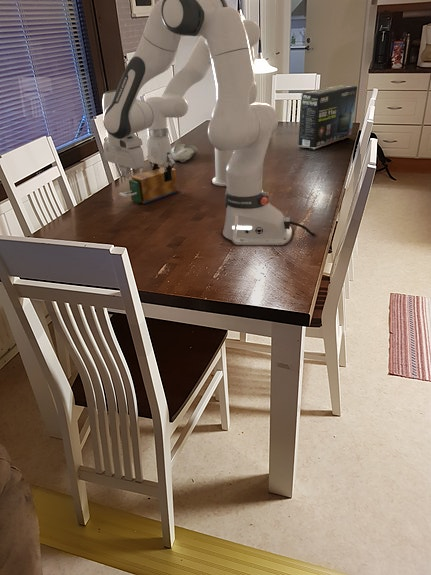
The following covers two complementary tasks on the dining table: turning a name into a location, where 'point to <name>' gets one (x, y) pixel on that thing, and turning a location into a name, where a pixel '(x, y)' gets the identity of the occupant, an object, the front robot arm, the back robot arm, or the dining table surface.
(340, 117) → the router box
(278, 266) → the dining table surface
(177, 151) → the fossil
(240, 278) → the dining table surface
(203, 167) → the dining table surface
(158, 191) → the cabinet
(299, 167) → the dining table surface
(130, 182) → the drawer
